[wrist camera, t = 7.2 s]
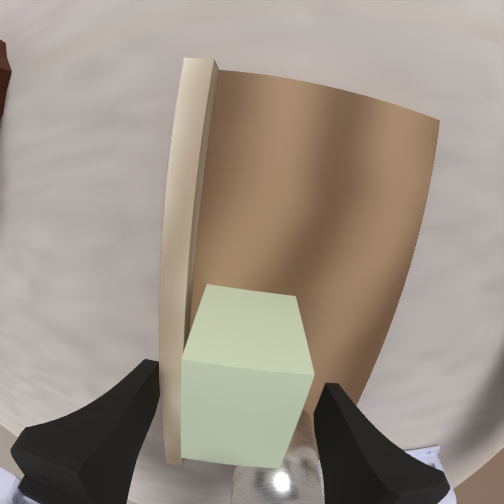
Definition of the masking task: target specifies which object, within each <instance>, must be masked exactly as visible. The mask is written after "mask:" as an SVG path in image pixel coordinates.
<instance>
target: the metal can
mask: <svg viewBox="0 0 504 504" xmlns="http://www.w3.org/2000/svg"><path fill="white" fill-rule="evenodd" d="M231 504H325V502H324V496H323V489H322V483H321V476H320V470H319V464H318V458H317V452H316V446H315V440H314V434H313V428H312V422H311V418H310V416H309V415H308V413H307V412H306V411H304V410H303V409H302V412H301V415H300V418H299V420H298V423H297V426H296V428H295V431H294V433H293V436H292V438H291V441H290V443H289V446H288V448H287V451H286V453H285V456H284V458H283V461H282V463H281V465H280V468H263V467H249V466H238V465H234V466H233V481H232V496H231Z"/></svg>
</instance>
